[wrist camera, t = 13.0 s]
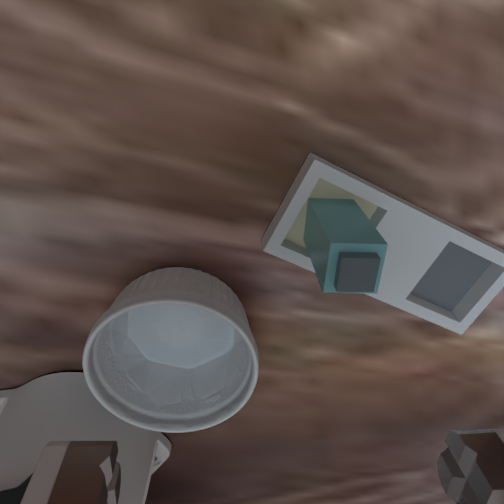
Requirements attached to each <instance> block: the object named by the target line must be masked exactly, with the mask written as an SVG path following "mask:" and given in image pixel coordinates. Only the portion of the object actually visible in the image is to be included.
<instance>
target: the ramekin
mask: <svg viewBox="0 0 504 504" xmlns="http://www.w3.org/2000/svg"><path fill="white" fill-rule="evenodd" d="M82 366H83V372H84V377H85V380H86V383H87V385H88V387H89V389H90V391H91V392H92V394H93V395H94V397H95V398H96V399H97V400H98V401H99V403H100V404H101V405H102V406H103V407H104V408H106V409H107V410H108V411H109V412H111V413H112V414H113V415H115V416H116V417H118V418H120V419H122V420H124V421H126V422H128V423H130V424H132V425H135V426H137V427H141V428H144V429H147V430H152V431H158V432H168V433H181V432H182V433H183V432H192V431H197V430H202V429H206V428H209V427H212V426H214V425H217V424H219V423H221V422H223V421H225V420H227V419H228V418H230V417H232V416H233V415H234V414H235V413H237V412H238V411H239V410H240V409H241V408H242V407H243V406H244V405H245V404H246V402H247V401H248V400H249V398H250V397H251V395H252V393H253V391H254V389H255V386H256V383H257V379H258V373H259V356H258V349H257V345H256V342H255V339H254V337H253V335H252V333H251V331H250V327H249V323H248V319H247V316H246V313H245V310H244V308H243V306H242V304H241V302H240V300H239V299H238V297H237V295H236V294H235V293H234V292H233V291H232V289H231V288H230V287H228V286H227V285H226V284H225V283H224V282H222V281H220V280H219V279H218V278H216V277H214V276H212V275H210V274H209V273H205V272H202V271H200V270H195V269H192V268H185V267H170V268H164V269H157V270H155V271H152V272H148V273H146V274H145V275H142V276H140V277H138V278H137V279H135V280H133V281H132V282H131V283H130V284H129V285H127V286H126V287H125V288H124V289H123V291H122V292H121V293H120V294H119V295H118V296H117V298H116V299H115V300H114V302H113V303H112V305H111V306H110V307H109V309H108V310H107V311H106V312H105V313H104V314H103V315H102V316H101V317H100V318H99V319H98V320H97V321H96V323H95V324H94V326H93V327H92V329H91V331H90V333H89V336H88V338H87V341H86V344H85V347H84V351H83V358H82Z"/></svg>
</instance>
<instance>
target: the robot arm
mask: <svg viewBox="0 0 504 504" xmlns="http://www.w3.org/2000/svg"><path fill="white" fill-rule="evenodd" d="M445 442H446V444H447V446H448V448H447V449H446V450H444V451H443V452H442V453H441V454H440V457H439V460H438V475H439V478H440V481H441V484H442V486H443V488H444V490H445V492H446V494H447V495H448V496H449V497H451V498H452V499H453V500H454V501H455V502H457V504H504V429H493V430H488V429H481V430H457V431H451V432H450V433H448V435H447V437H446V440H445ZM171 448H172V445H171V443H170V441H169V440H168V439H167V438H166V437H165V436H164V435H163V434H162V433H161V432H158V431H152V430H147V429H144V428H141V427H137V426H135V425H132V424H130V423H128V422H126V421H124V420H122V419H120V418H118V417H116V416H115V415H113V414H112V413H111V412H109V411H108V410H107V409H106V408H104V407H103V406H102V405H101V404H100V403H99V401H98V400H97V399H96V398H95V397H94V395H93V394H92V392H91V391H90V389H89V387H88V385H87V383H86V380H85V377H84V373H82V372H62V373H54V374H49V375H45V376H42V377H39V378H36V379H34V380H32V381H30V382H28V383H26V384H25V385H23V386H21V387H18V388H15V389H9V390H1V391H0V504H145V501H146V496H147V492H148V487H149V483H150V478H151V475H152V474H153V473H154V472H155V471H156V470H157V469H158V468H159V467H160V466H161V465H162V464H163V463H164V462H165V461H166V460H167V459H168V457H169V456H170V452H171Z"/></svg>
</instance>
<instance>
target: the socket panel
mask: <svg viewBox="0 0 504 504" xmlns="http://www.w3.org/2000/svg"><path fill="white" fill-rule="evenodd" d="M308 198H328V199H354V201H355V202H356V203H357V204H358V206H359V207H360V208H361V210H362V211H363V212H364V214H365V215H366V216H367V218H368V219H369V220H370V221H371V223H372V224H373V225H374V227H375V228H376V229H377V231H378V232H379V233H380V235H381V236H382V237H383V238H384V240H385V241H386V242H387V244H388V247H387V251H386V256H385V260H384V265H383V269H382V274H381V278H380V283H379V288H378V292H377V294H375V293H364V294H366V295H368V296H371V297H373V298H376V299H378V300H380V301H383V302H385V303H387V304H390V305H392V306H395V307H397V308H399V309H402V310H404V311H406V312H409V313H411V314H413V315H416V316H418V317H421V318H423V319H425V320H428V321H430V322H432V323H435V324H437V325H440V326H442V327H444V328H447V329H449V330H451V331H454V332H456V333H458V334H461V335H462V334H463V333H464V332H465V331H466V329H467V328H468V327H469V326H470V325H471V324H472V322H473V321H474V320H475V319H476V318H477V317H478V316H479V314H480V313H481V312H482V311H483V310H484V309H485V307H486V306H487V305H488V304H489V303H490V302H491V301H492V299H493V298H494V297H495V296H496V295H497V294H498V292H499V291H500V290H501V289H502V288H503V287H504V249H502V248H500V247H498V246H496V245H494V244H492V243H490V242H488V241H486V240H484V239H482V238H480V237H478V236H476V235H474V234H472V233H470V232H468V231H466V230H464V229H462V228H460V227H458V226H456V225H454V224H452V223H450V222H448V221H446V220H444V219H442V218H440V217H438V216H436V215H434V214H432V213H430V212H428V211H426V210H424V209H422V208H420V207H418V206H416V205H414V204H412V203H410V202H408V201H406V200H404V199H402V198H400V197H398V196H396V195H394V194H392V193H390V192H388V191H386V190H384V189H382V188H380V187H378V186H376V185H374V184H372V183H370V182H368V181H366V180H364V179H362V178H360V177H358V176H356V175H354V174H352V173H350V172H348V171H346V170H344V169H342V168H340V167H338V166H336V165H334V164H332V163H330V162H328V161H326V160H324V159H322V158H320V157H318V156H316V155H314V154H312V153H309V155H308V156H307V158H306V160H305V162H304V164H303V165H302V167H301V169H300V171H299V173H298V174H297V176H296V178H295V180H294V182H293V183H292V185H291V187H290V189H289V191H288V192H287V194H286V196H285V198H284V200H283V202H282V203H281V205H280V207H279V209H278V211H277V212H276V214H275V216H274V218H273V220H272V221H271V223H270V225H269V227H268V229H267V230H266V232H265V234H264V236H263V238H262V239H261V242H262V247H263V251H264V252H267V253H269V254H271V255H274V256H276V257H278V258H281V259H283V260H286V261H288V262H290V263H293V264H295V265H297V266H300V267H302V268H305V269H307V270H309V271H312V272H314V273H316V272H315V270H314V267H313V264H312V262H311V259H310V256H309V254H308V251H307V248H306V246H305V243H304V240H303V237H304V229H305V220H306V212H307V204H308Z"/></svg>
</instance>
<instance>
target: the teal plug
mask: <svg viewBox="0 0 504 504" xmlns="http://www.w3.org/2000/svg"><path fill="white" fill-rule="evenodd" d="M303 240H304V243H305V246H306V248H307V251H308V254H309V256H310V259H311V262H312V264H313V267H314V270H315V272H316V275H317V278H318V280H319V283H320V286H321V288H322V291H323V293H375V294H377V292H378V288H379V283H380V278H381V274H382V269H383V265H384V260H385V256H386V251H387V247H388V244H387V242H386V241H385V240H384V238H383V237H382V236H381V235H380V233H379V232H378V231H377V229H376V228H375V227H374V225H373V224H372V223H371V221H370V220H369V219H368V218H367V216H366V215H365V214H364V212H363V211H362V210H361V208H360V207H359V206H358V204H357V203H356V202H355V201H354V199H328V198H308V204H307V212H306V220H305V229H304V237H303Z"/></svg>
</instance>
